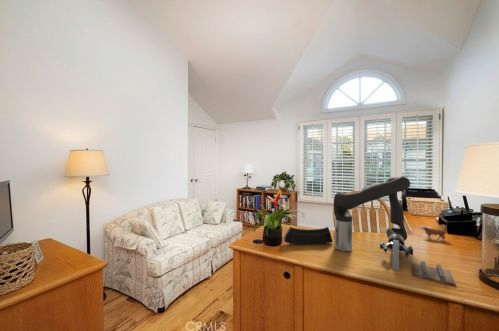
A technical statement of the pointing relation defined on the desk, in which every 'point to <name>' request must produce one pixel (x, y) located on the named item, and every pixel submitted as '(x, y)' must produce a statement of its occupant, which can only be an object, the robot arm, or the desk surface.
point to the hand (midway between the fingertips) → (395, 252)
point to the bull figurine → (433, 232)
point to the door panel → (395, 255)
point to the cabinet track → (433, 273)
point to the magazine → (308, 236)
